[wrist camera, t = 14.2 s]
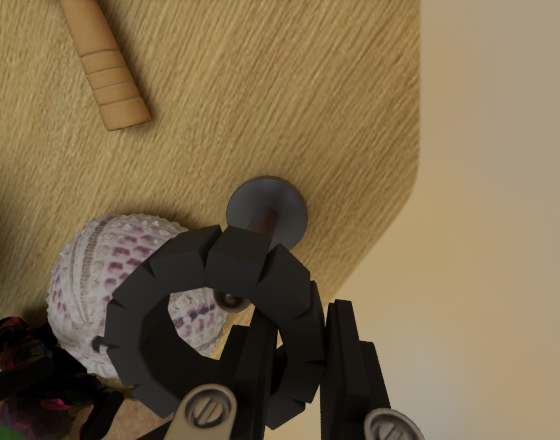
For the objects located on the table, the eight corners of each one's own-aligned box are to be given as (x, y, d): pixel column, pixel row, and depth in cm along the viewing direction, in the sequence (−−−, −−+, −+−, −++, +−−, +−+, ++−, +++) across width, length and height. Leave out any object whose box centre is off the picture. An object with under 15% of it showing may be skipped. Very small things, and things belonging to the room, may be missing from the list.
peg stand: (296, 166, 22) (280, 217, 11) (315, 241, 24) (318, 351, 13) (219, 186, 23) (134, 251, 12) (242, 257, 25) (186, 371, 14)
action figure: (96, 537, 17) (19, 432, 30) (179, 437, 22) (81, 382, 34) (-80, 320, 14) (-82, 306, 27) (62, 252, 18) (1, 268, 31)
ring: (297, 206, 10) (293, 229, 8) (339, 374, 12) (344, 427, 10) (111, 247, 11) (66, 277, 9) (177, 394, 13) (152, 445, 11)
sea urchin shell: (125, 168, 24) (36, 193, 16) (270, 269, 25) (252, 336, 17) (61, 289, 28) (-34, 354, 20) (189, 369, 29) (146, 458, 22)
